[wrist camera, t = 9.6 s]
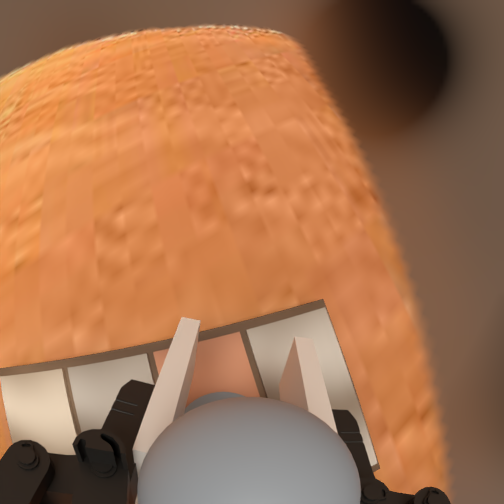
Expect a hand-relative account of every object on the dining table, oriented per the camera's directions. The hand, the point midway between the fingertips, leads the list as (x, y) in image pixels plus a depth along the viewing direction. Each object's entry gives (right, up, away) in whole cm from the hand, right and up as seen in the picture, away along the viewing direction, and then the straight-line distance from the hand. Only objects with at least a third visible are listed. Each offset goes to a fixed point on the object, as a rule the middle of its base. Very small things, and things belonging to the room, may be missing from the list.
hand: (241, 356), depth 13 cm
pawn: (-1, -5, +2) cm, 6 cm away
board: (-4, -7, +4) cm, 9 cm away
